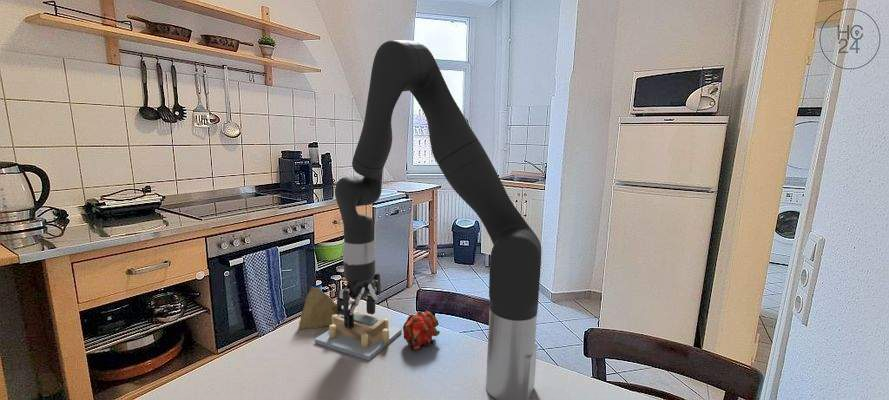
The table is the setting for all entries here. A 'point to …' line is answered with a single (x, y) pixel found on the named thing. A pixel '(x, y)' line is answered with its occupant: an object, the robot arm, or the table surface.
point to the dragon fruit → (420, 329)
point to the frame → (361, 327)
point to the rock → (317, 310)
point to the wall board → (357, 341)
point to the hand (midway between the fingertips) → (360, 320)
